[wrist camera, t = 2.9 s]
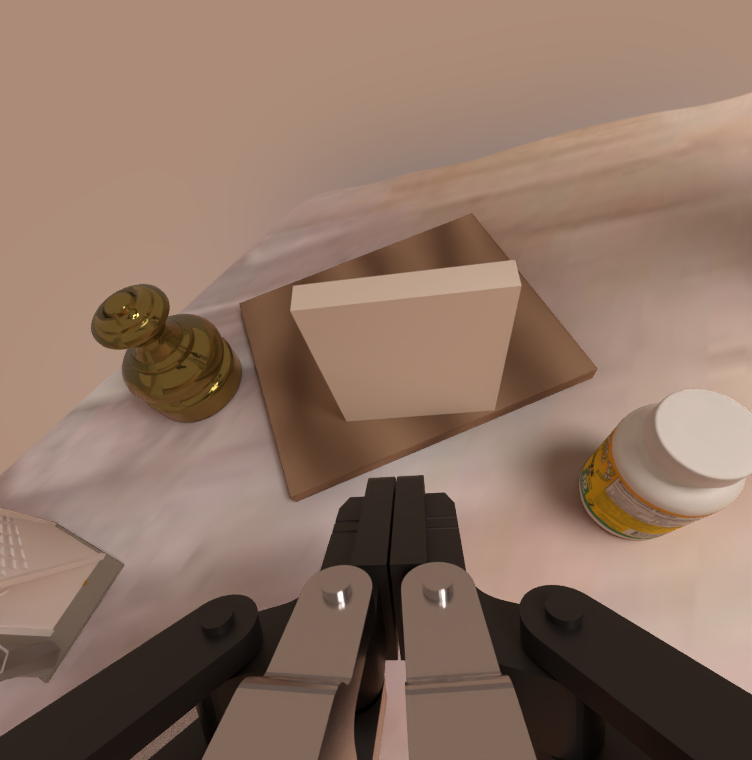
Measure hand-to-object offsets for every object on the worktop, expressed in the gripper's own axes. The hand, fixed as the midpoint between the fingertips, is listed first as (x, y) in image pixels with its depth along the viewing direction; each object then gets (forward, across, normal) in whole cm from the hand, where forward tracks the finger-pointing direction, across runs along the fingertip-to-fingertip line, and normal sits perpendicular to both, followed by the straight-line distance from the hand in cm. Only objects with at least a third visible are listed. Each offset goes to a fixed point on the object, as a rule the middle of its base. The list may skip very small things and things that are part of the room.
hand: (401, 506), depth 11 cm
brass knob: (+21, -17, -1) cm, 27 cm away
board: (+23, -1, +1) cm, 23 cm away
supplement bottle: (+14, +12, -8) cm, 20 cm away
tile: (+17, 0, -3) cm, 17 cm away
